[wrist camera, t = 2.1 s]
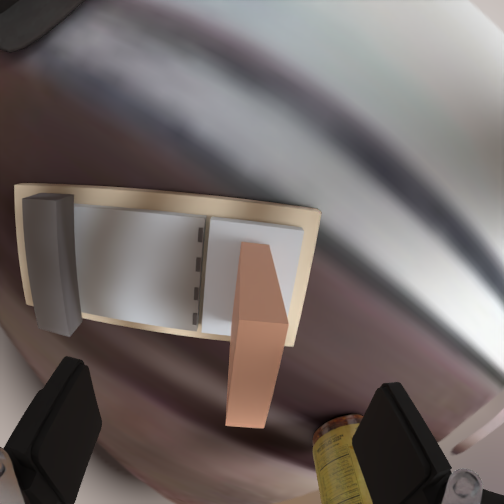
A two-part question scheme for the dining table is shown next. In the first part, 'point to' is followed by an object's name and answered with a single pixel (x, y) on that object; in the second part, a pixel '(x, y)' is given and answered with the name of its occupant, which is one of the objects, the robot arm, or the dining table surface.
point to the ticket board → (134, 254)
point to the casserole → (30, 20)
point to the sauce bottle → (339, 462)
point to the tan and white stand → (250, 307)
